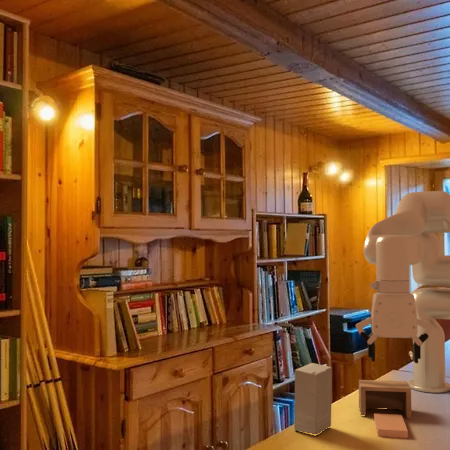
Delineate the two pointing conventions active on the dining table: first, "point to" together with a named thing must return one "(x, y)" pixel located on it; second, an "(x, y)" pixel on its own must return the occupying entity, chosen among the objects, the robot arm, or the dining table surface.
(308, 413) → the skincare box
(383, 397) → the tan open box
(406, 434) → the terracotta tile
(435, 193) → the robot arm
